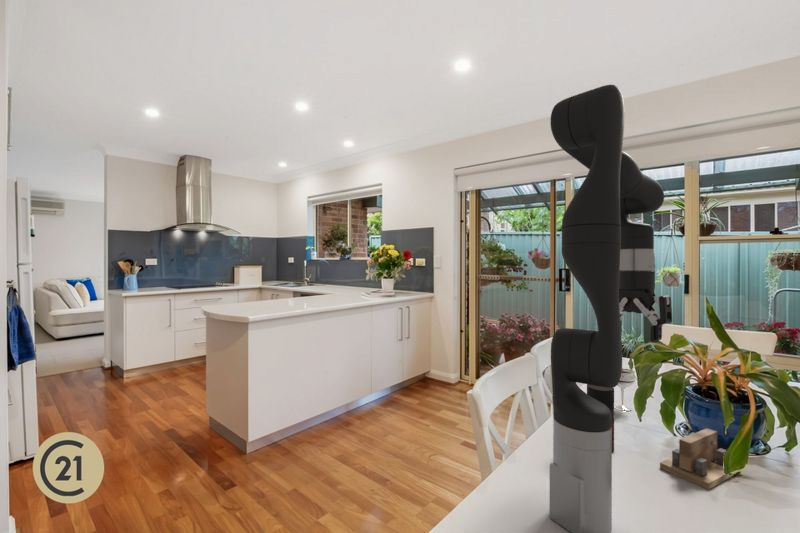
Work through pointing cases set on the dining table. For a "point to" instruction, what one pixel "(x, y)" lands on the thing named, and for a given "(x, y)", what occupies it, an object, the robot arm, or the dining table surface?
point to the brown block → (697, 448)
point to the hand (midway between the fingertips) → (635, 338)
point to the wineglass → (625, 383)
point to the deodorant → (604, 401)
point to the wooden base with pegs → (699, 469)
